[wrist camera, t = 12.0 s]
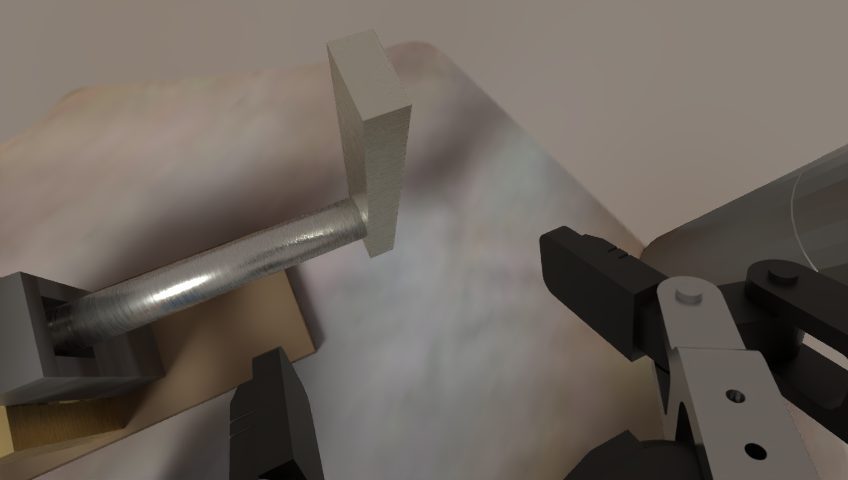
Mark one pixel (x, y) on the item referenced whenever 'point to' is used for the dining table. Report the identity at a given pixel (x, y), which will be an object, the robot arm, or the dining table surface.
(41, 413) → the spacer
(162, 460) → the dining table surface
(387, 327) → the dining table surface
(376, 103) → the shaft
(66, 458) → the stand
